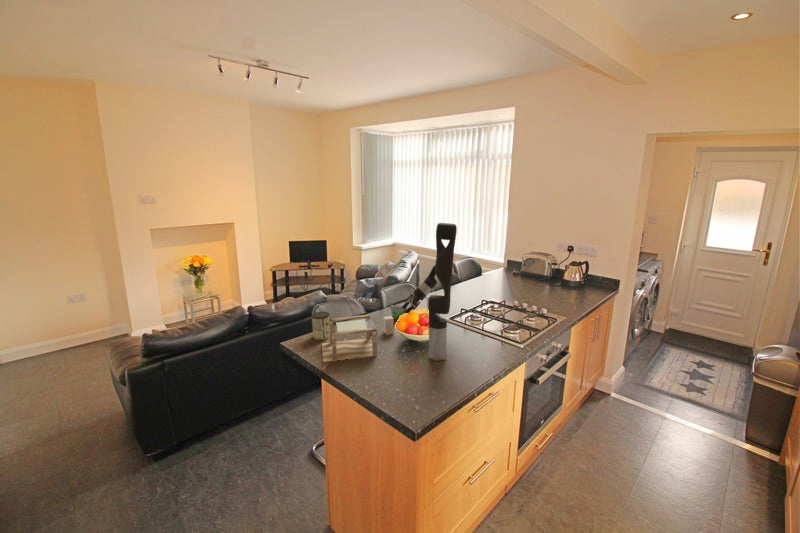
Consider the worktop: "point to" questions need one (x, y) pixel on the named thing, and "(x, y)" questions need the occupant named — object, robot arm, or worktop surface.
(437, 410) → the worktop surface
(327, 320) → the coffee can
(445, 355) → the robot arm
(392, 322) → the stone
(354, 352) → the trapdoor frame
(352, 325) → the trapdoor
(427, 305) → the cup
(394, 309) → the food container
